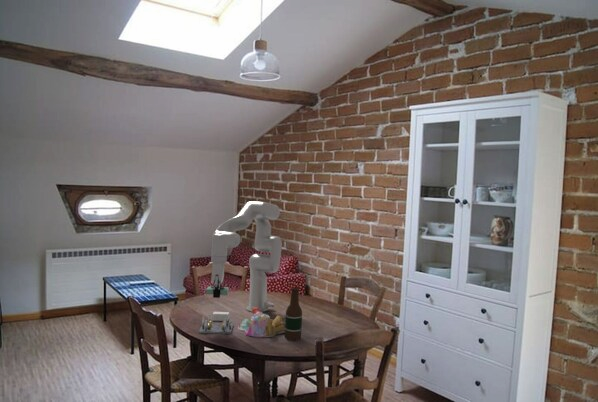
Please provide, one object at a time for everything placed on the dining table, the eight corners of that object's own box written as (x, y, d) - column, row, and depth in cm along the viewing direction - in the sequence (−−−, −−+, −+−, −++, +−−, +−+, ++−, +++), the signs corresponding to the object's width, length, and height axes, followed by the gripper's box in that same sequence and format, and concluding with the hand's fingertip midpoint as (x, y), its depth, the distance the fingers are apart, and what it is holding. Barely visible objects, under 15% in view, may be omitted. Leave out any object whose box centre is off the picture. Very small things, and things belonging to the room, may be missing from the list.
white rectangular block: (228, 318, 235) (229, 312, 235) (228, 321, 231) (228, 314, 231) (213, 318, 235) (213, 311, 234) (212, 320, 231) (212, 313, 231)
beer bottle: (284, 335, 214) (286, 285, 213) (300, 335, 215) (302, 285, 214) (285, 341, 206) (287, 289, 205) (301, 341, 207) (304, 289, 206)
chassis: (233, 325, 224) (233, 314, 224) (230, 334, 212) (231, 321, 212) (203, 324, 224) (203, 313, 223) (198, 333, 212) (199, 320, 211)
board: (228, 292, 220) (228, 286, 220) (227, 295, 214) (227, 288, 214) (208, 291, 220) (208, 285, 220) (206, 294, 214) (206, 288, 214)
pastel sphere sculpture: (294, 327, 227) (295, 309, 226) (273, 342, 205) (273, 322, 205) (251, 319, 237) (252, 302, 236) (226, 332, 215) (227, 313, 215)
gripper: (213, 255, 225) (212, 291, 225) (208, 261, 208) (206, 300, 208) (228, 256, 225) (227, 291, 226) (224, 262, 208) (223, 300, 209)
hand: (217, 295), depth 217 cm, fingers closed on board, 6 cm apart
